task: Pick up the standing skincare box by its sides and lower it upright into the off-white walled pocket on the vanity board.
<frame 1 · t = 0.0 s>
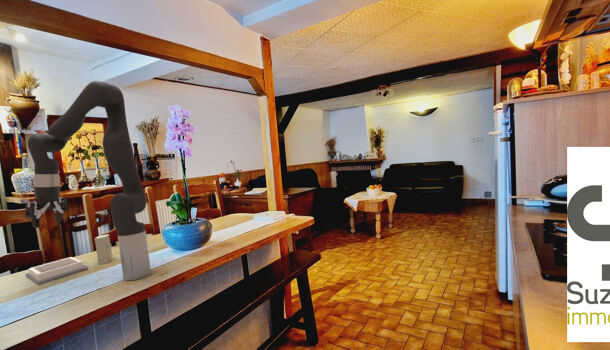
hand: (48, 224, 111), 22 cm above the table, tool pointing down, fingers open, 8 cm apart
pocket board: (57, 272, 120), on the table
skincare box: (105, 262, 129), on the table
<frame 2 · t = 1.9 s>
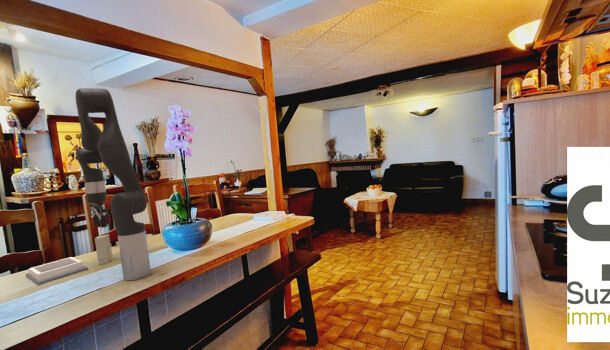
hand: (100, 226, 128), 17 cm above the table, tool pointing down, fingers open, 8 cm apart
nothing on the table moved.
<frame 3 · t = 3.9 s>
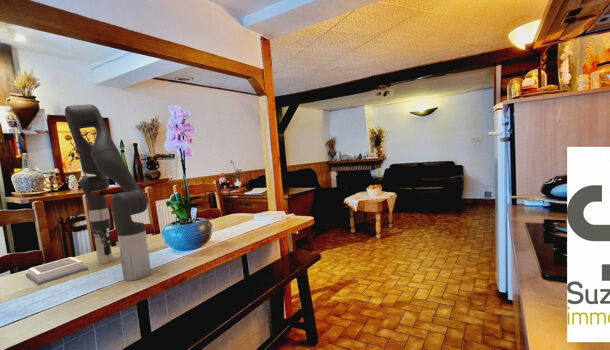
hand: (104, 253, 129), 4 cm above the table, tool pointing down, fingers closed on skincare box, 7 cm apart
skincare box: (105, 262, 129), on the table, touching gripper
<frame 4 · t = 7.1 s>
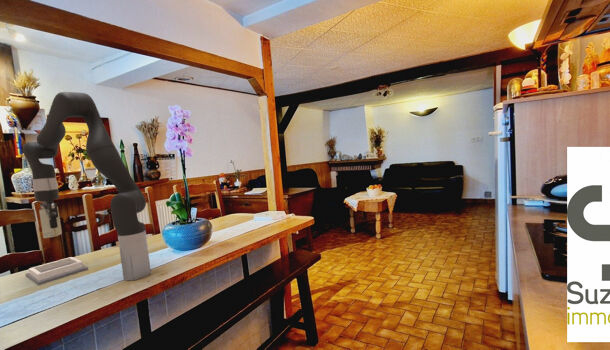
hand: (51, 227, 118), 20 cm above the table, tool pointing down, fingers closed on skincare box, 7 cm apart
skincare box: (52, 236, 119), point 16 cm above the table, touching gripper
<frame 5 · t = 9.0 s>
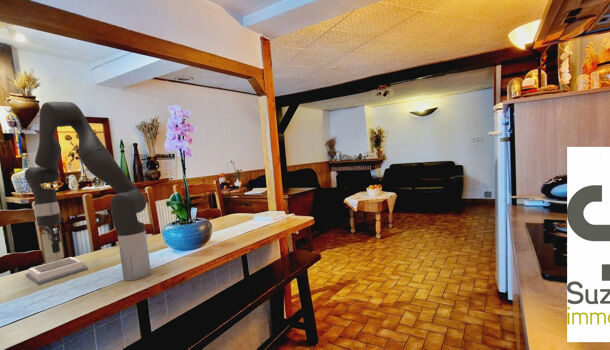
hand: (53, 251, 119), 10 cm above the table, tool pointing down, fingers closed on skincare box, 7 cm apart
skincare box: (55, 260, 119), point 6 cm above the table, touching gripper
when the fingers open (7 cm above the table, at t = 10.7 s): skincare box drops 2 cm, resting on pocket board.
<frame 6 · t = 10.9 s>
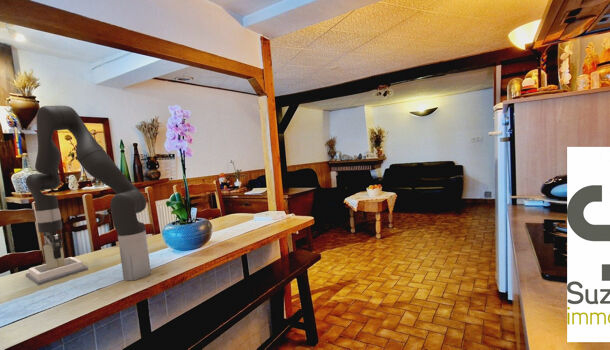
hand: (54, 256, 119), 7 cm above the table, tool pointing down, fingers open, 8 cm apart
skincare box: (56, 270, 120), point 1 cm above the table, touching gripper, pocket board
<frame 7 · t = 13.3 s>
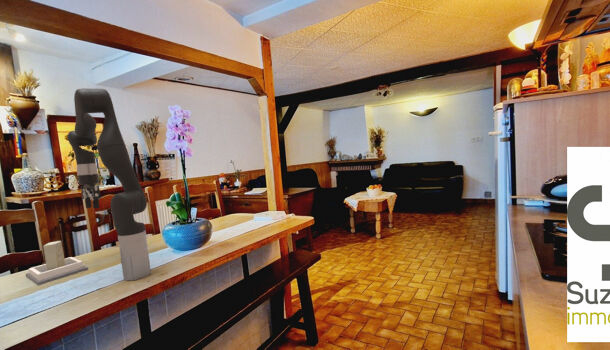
hand: (92, 208, 130), 25 cm above the table, tool pointing down, fingers open, 8 cm apart
skincare box: (56, 270, 120), point 1 cm above the table, touching pocket board
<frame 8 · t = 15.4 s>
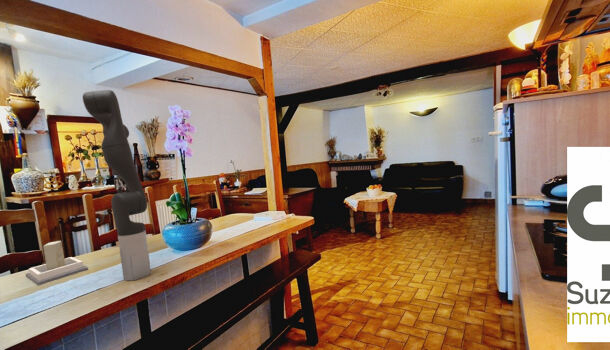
hand: (124, 197, 140), 28 cm above the table, tool pointing down, fingers open, 8 cm apart
nothing on the table moved.
at the end: skincare box inside the target area on the pocket board (0.3 cm from its centre), point 0.8 cm above the pocket board's base; skincare box tilted 0°; the gripper is holding nothing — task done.
